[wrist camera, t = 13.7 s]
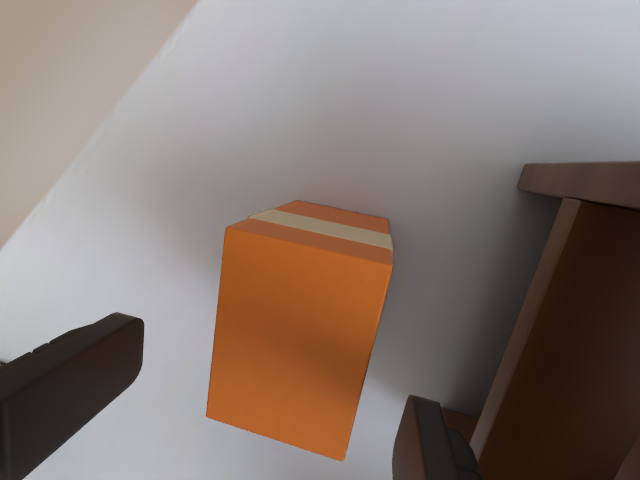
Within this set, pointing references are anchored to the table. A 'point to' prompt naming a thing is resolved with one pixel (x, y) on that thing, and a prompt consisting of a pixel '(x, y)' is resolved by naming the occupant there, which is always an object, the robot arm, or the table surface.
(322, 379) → the packet
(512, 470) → the shelf
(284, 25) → the table surface
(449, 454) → the robot arm
